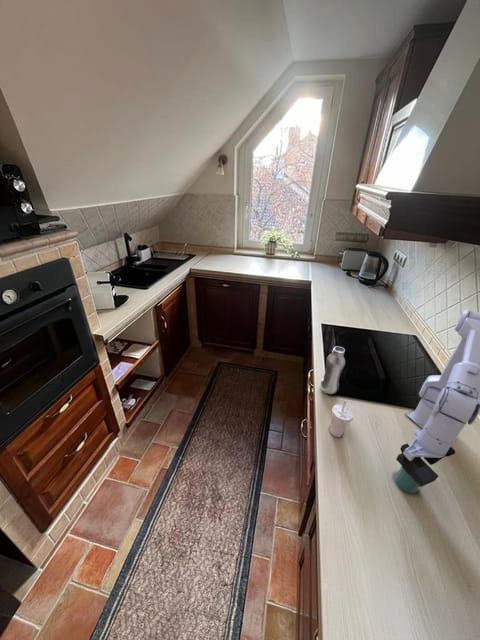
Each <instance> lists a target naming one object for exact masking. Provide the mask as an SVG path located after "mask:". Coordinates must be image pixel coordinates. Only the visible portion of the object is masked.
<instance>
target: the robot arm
mask: <svg viewBox="0 0 480 640" xmlns="http://www.w3.org/2000/svg"><path fill="white" fill-rule="evenodd" d="M454 332H456V333H457V334H458V336H460V340H459V342H458V343H457V345H456V347H455V349H454V350H453V352H452V354H451V356H450V358H449V359H448V362H447V363H446V365H445V366H444V369H443V371H442V372H441V374H437V375H433V374H432V375H428V376H427V378H426V379H425V380H424V382H423V383H422V385H421V388H420V390H419V393H418V396H419V397H420V400H419V402H418V404H417V406H416V408H415V409H414V411H411V412H409V413H407V414H406V416H407V417H408V418H409V419H410V420H411V421H413V422H414V423H415V424H416V425H417V426H418V427H420V428H421V429H416V430H414V431H413V434H414V435H415V438H414V439H413V441H412V442H411V444H409V443H404V444H402V445H401V446H400V452H401V453H402V456H403V463H402V465H401V466H402V468H403V469H404V470H405V471H406V472H407V473H408V474H411V473H413V472H414V471H415V470H416V469H418V468H422V467H424V466H427V465H429V466H433V465H435V464H436V463H439V461H440V460H442V459H443V458H446V457H451V456H453V455H455V454H456V450H455V448H453V446H452V445H454V444H455V442H456V441H457V437H458V436H459V435H460V433H461V432H462V430H463V429H464V427H465V426H466V424H468V425H469V426H470V425H472V424H473V423H474V422H475V421H476V419H477V418H478V416H479V414H480V312H478V311H474V310H470V309H469V308H467V309H464V310H463V311H462V313H461V314H460V316H459V318H458V320H457V322H456V325H455V326H454ZM420 458H421V459H422V458H423V459H422V460H423V461H424V462H425V463H426V464H427V463H428V464H427V465H426V464H425V463H424V462H423V461H422V460H421V459H420Z"/></svg>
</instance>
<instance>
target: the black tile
mask: <svg viewBox="0 0 480 640" xmlns="http://www.w3.org/2000/svg"><path fill="white" fill-rule="evenodd" d="M395 459H396V461H397V462H398V463H399V464H400V466H402V463H403V456H402V452H401V453H399V454H398V455H397V456H396V458H395ZM420 459H421V460H422V461H423V462H424V463H425V464H426V465H427V466H424V467H422V468H418V469H416V470H415V471H414V472H413V473H411V474H409V475H410V476H411V477H412V478H413V479H414V480H415V481H416V482H417V484H418V485H419V486H420V488H422V487H424V486H426V485H429V484H432V483H433V482H435V481H436V480H437V479H438V478H439V475H438V474H437V473H436V472H435V470H433V468H431V467H430V465H429V464H427V462H426V461H425V460H424V459H423V458H422V457H421V458H420Z"/></svg>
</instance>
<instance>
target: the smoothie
mask: <svg viewBox="0 0 480 640" xmlns="http://www.w3.org/2000/svg"><path fill="white" fill-rule="evenodd" d="M346 404H347V399H344V400H343V404H342V403H337V404H335V405H333V406H332V409H331V422H330V430H329V431H330V433H331V435H333V436H334V437H335V438H341V437H342V436H343V434H344V433H345V431H346V430H347V428H348V426H349V424H350V423H351V422H352V421H353V420H354V417H355V414H354V411H353V410H352V408H350V407H349V406H347V405H346Z"/></svg>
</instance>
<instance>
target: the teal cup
mask: <svg viewBox="0 0 480 640" xmlns="http://www.w3.org/2000/svg"><path fill="white" fill-rule="evenodd" d="M394 479H395V482H396V485H397V486H398V487H399V488H400V490H402V491H404V492H405V493H407V494H411V495H413V494H416V493H417V492H418V491H419V490H420V488H421V487H420V486H419V485H418V484H417V482H416V481H415V480H414V479H413V478H412V477H411V476H410V475H409V474H408V473H407V472H406V471H405V470H404V469H403V468H402V465H400V467H399V469H398V471H397V473H396V475H395V477H394Z"/></svg>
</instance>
